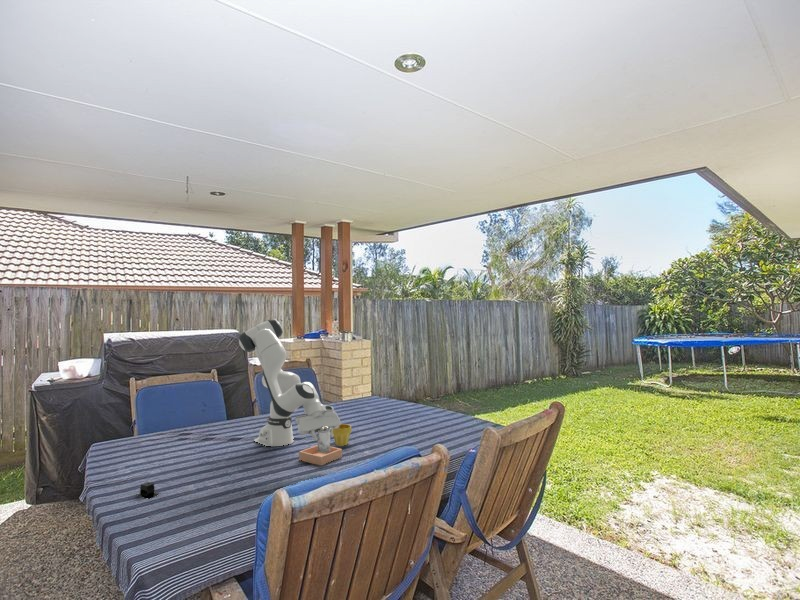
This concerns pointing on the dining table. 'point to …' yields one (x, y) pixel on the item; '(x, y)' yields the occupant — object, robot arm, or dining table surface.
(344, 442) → the plant pot
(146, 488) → the black block
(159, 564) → the dining table surface
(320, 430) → the silver metal cylinder
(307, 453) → the terracotta bin
